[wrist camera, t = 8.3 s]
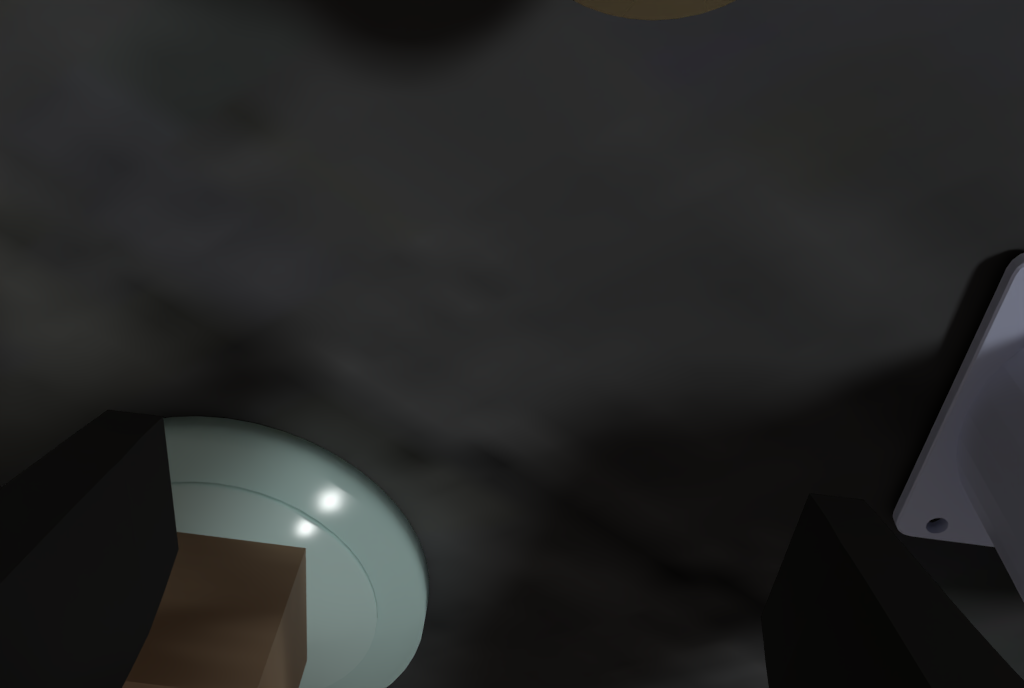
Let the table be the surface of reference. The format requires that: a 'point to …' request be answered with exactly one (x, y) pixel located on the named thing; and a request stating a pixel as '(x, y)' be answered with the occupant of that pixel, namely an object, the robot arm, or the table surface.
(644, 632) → the table surface
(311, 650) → the dish
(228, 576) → the block
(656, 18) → the balance
